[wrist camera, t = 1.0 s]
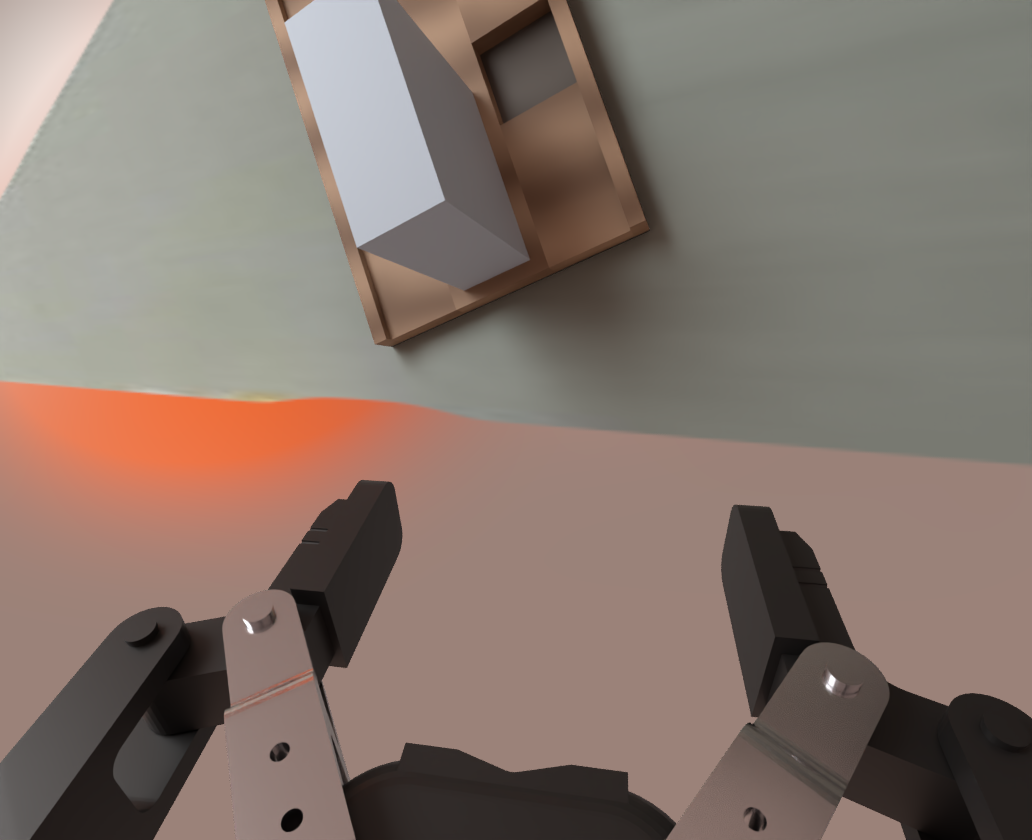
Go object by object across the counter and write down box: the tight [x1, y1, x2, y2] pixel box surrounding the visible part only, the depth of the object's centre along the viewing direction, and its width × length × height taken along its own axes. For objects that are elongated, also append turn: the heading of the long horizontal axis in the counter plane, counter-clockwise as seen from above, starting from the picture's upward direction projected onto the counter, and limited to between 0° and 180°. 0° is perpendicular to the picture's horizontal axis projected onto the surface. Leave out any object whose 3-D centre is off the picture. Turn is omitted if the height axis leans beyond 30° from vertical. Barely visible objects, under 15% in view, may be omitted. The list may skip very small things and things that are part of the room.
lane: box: [265, 0, 650, 347], centre depth 37 cm, size 32×20×6 cm, turn 20°
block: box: [284, 0, 530, 291], centre depth 32 cm, size 12×5×12 cm, turn 20°
